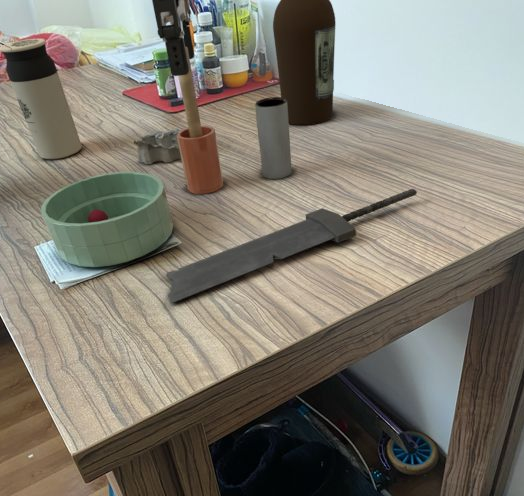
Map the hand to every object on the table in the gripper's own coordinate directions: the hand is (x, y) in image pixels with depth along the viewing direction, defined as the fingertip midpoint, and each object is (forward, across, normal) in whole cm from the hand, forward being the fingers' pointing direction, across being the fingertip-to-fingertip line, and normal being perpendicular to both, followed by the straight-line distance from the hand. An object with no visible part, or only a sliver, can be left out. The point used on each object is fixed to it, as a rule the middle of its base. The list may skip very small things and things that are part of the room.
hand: (184, 66), depth 67 cm
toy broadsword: (+17, +20, +12) cm, 29 cm away
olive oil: (+17, -27, +18) cm, 36 cm away
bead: (+14, +12, -14) cm, 23 cm away
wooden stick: (+16, 0, 0) cm, 16 cm away
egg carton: (+16, -15, -7) cm, 23 cm away
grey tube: (+17, -2, +11) cm, 20 cm away
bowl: (+16, +14, -11) cm, 24 cm away
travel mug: (+16, -23, -29) cm, 41 cm away
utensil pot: (+16, 0, 0) cm, 16 cm away
